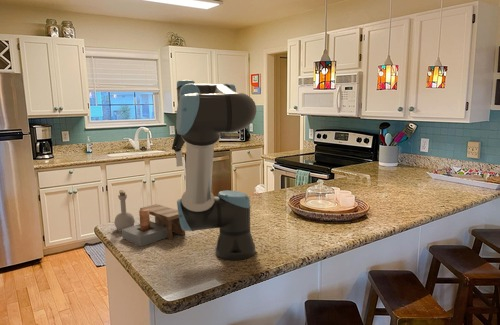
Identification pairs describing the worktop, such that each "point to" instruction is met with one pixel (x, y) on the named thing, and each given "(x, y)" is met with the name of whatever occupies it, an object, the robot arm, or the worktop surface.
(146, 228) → the peg
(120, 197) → the potion bottle
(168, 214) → the wooden bench
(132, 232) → the socket block
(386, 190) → the worktop surface
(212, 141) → the robot arm
